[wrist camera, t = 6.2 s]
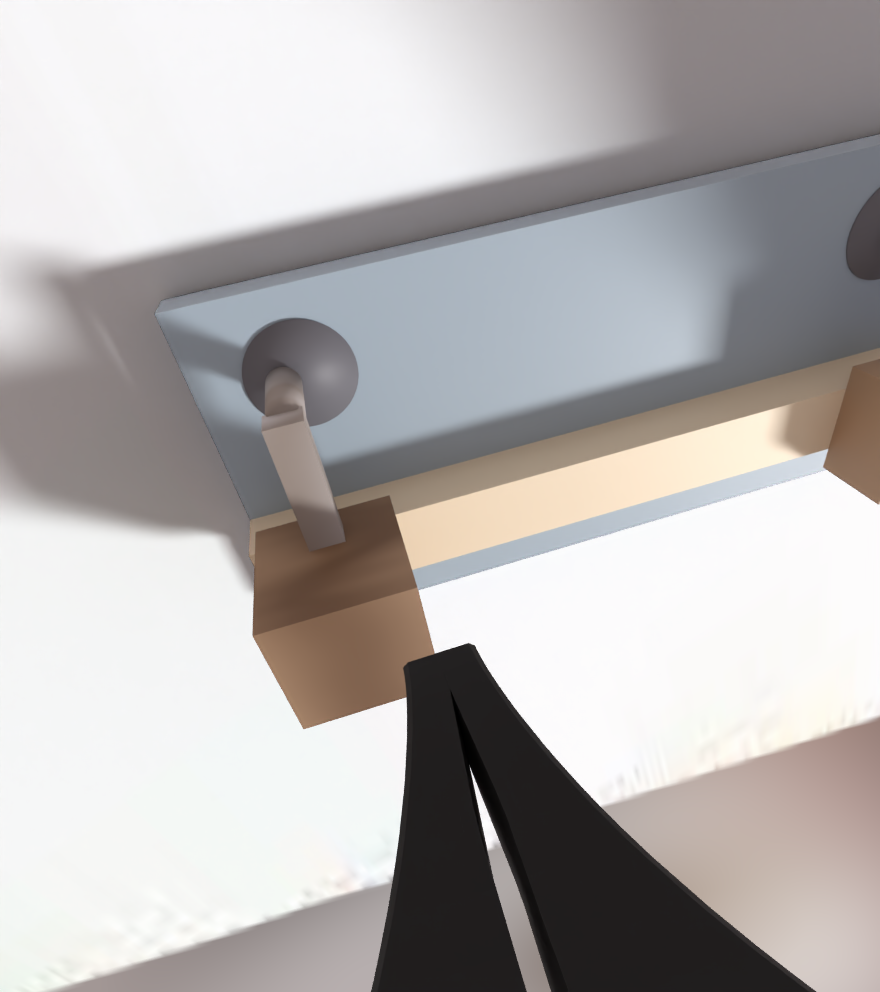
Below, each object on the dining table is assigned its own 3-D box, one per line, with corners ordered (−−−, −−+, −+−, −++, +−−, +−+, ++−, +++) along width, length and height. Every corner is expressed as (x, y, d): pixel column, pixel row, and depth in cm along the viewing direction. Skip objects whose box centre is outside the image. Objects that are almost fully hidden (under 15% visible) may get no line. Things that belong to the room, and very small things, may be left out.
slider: (349, 349, 16) (381, 448, 11) (405, 558, 21) (443, 685, 16) (204, 385, 15) (179, 502, 11) (296, 590, 20) (303, 729, 16)
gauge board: (941, 119, 18) (1155, 128, 14) (841, 444, 25) (960, 517, 21) (161, 300, 15) (119, 380, 11) (297, 602, 23) (305, 722, 18)
